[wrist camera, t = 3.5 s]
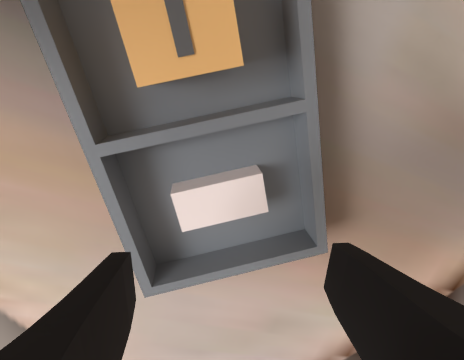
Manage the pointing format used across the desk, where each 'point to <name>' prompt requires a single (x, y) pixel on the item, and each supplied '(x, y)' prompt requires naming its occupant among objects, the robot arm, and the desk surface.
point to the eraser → (219, 198)
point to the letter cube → (178, 38)
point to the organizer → (195, 138)
